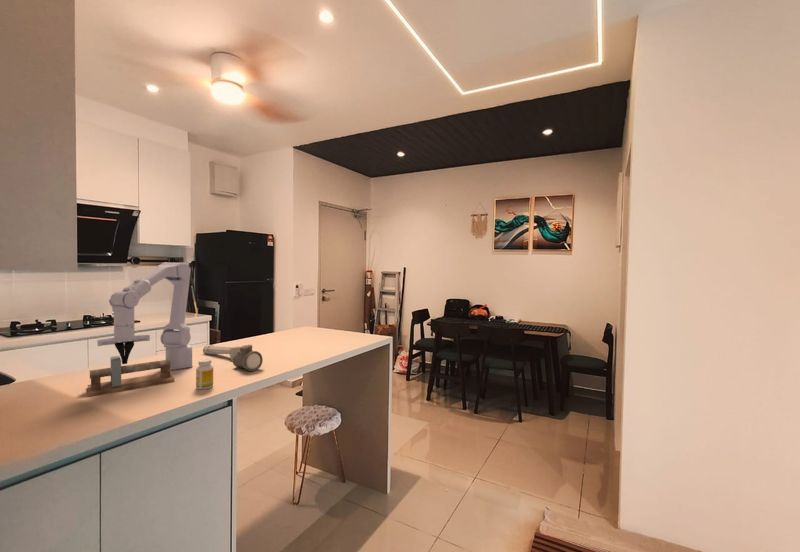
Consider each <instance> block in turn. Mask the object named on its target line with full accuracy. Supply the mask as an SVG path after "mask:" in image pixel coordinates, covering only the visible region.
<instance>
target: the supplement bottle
mask: <svg viewBox="0 0 800 552" xmlns="http://www.w3.org/2000/svg"><path fill="white" fill-rule="evenodd" d="M213 386H214V366H213V365H212V359H211V358H204V359H199V360H198V366H197V367H196V369H195V388H196V389H197V390H206V389H211V388H213Z"/></svg>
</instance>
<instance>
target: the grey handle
mask: <svg viewBox="0 0 800 552" xmlns="http://www.w3.org/2000/svg"><path fill="white" fill-rule="evenodd" d="M239 347H241V346H233V347H231V346H222V345H221V346H219V345H213V344H211V345H206V346H204V347H203V349H202V352H203V354H205V355H208V356H210V355H211V356H212V355H229V357H230V361H232V362H233V358H234V356H235V355H236V354H237V352H238V351H240V350H239Z"/></svg>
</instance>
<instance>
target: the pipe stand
mask: <svg viewBox="0 0 800 552" xmlns="http://www.w3.org/2000/svg"><path fill="white" fill-rule="evenodd" d="M170 366H171V362H170V359H169V360H166V359H163V360H155V361H150V362H143V363H134V364H125V365H121V375H126V374H133V373H138V372H145V371H152V370H158V369H160V372H159V373H154V374H148V375H147V374H146V375H143V376H141V375H140V376H137V377H135V376H134V377H130V378H124V379H123V378H121V386H116V387H112V384H111V380H110V381H104V382H101V381H102V380H101V378H104V377H111V376H112V367H111V366H110V367H106V368H100V369H99V368H98V369H92V370H89V380H90V384H87V397H95V396H100V395H105V394H111V393H115V392H116V393H117V392H122V391H123V392H124V391H128V390H134V389H140V388H145V387H146V388H147V387H150V386H151V387H153V386H156V385H157V386H158V385H163V384H167V383H174V382H175V378H174V376H172V374H171V370H170Z"/></svg>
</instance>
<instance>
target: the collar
mask: <svg viewBox="0 0 800 552" xmlns="http://www.w3.org/2000/svg"><path fill="white" fill-rule="evenodd" d="M121 366H122V360H121V356H120V355H115V356H110V368H111V367H112V376H110V381H111V384H112V387H116V386H121V380H122V374H121Z"/></svg>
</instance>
